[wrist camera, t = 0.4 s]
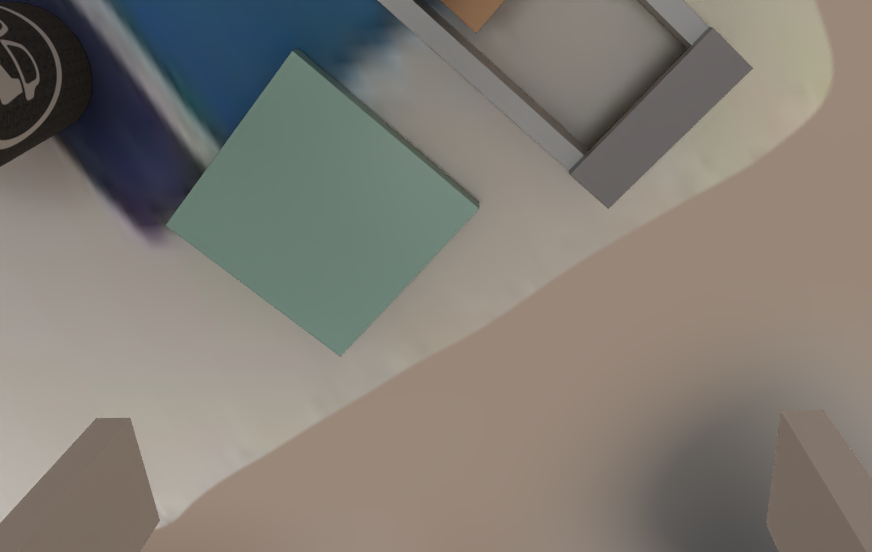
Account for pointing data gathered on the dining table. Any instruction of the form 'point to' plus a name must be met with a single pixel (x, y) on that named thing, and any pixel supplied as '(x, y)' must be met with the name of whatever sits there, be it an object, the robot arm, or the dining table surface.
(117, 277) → the dining table surface
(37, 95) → the coffee cup
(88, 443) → the robot arm
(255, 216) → the teal coaster
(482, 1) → the walnut block
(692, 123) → the grey channel
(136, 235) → the dining table surface
